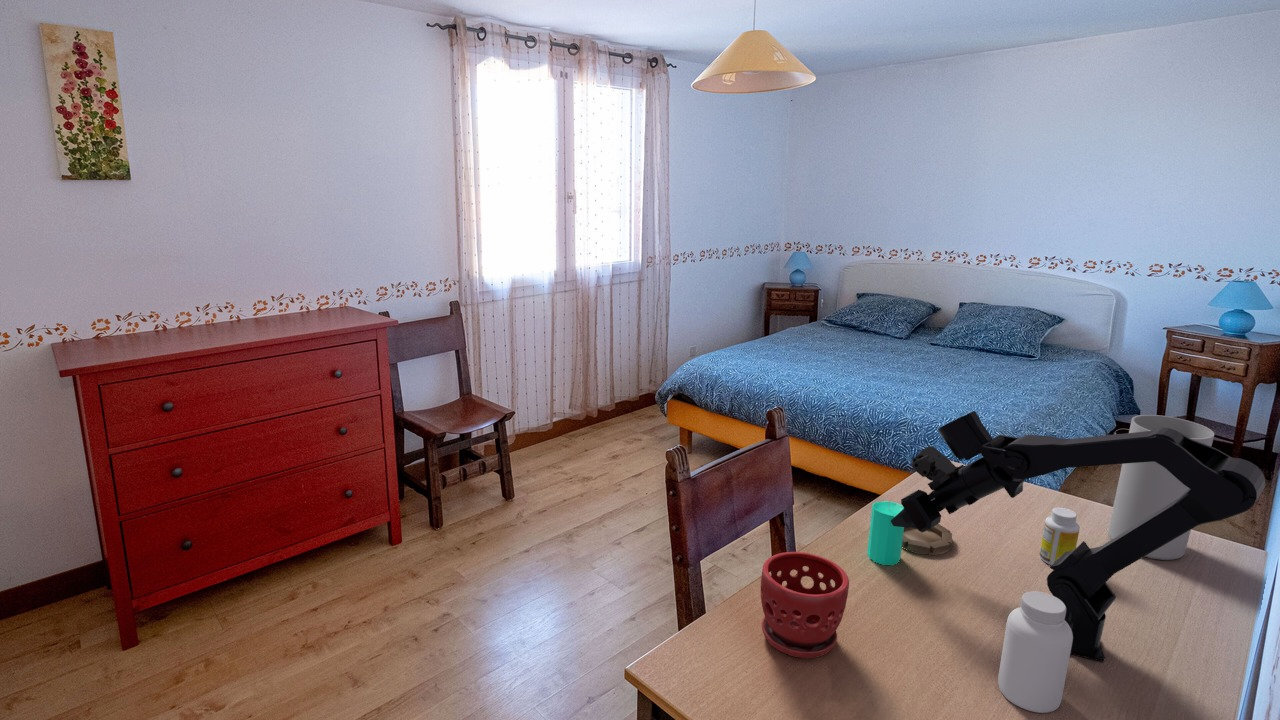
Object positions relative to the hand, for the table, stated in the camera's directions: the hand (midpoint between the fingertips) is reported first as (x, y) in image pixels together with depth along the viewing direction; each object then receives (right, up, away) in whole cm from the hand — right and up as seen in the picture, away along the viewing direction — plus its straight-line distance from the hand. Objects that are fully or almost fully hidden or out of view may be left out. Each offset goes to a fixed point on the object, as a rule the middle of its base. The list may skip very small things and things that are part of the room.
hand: (905, 515), depth 127 cm
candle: (-2, -9, +5) cm, 11 cm away
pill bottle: (+6, -19, -29) cm, 35 cm away
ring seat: (+7, -7, +12) cm, 16 cm away
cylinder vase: (+51, -8, +10) cm, 53 cm away
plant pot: (-23, -16, -17) cm, 33 cm away
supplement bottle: (+30, -10, +4) cm, 32 cm away
